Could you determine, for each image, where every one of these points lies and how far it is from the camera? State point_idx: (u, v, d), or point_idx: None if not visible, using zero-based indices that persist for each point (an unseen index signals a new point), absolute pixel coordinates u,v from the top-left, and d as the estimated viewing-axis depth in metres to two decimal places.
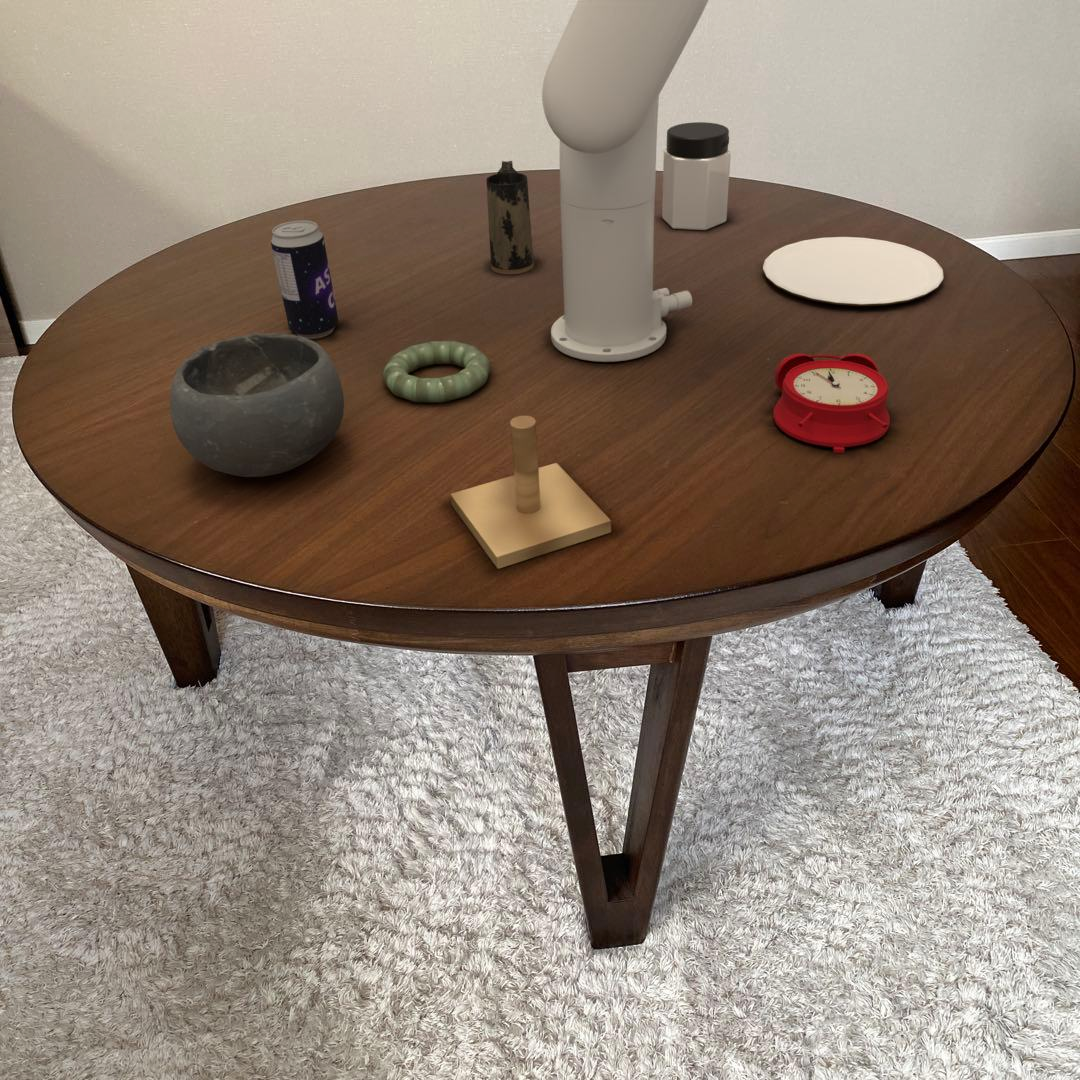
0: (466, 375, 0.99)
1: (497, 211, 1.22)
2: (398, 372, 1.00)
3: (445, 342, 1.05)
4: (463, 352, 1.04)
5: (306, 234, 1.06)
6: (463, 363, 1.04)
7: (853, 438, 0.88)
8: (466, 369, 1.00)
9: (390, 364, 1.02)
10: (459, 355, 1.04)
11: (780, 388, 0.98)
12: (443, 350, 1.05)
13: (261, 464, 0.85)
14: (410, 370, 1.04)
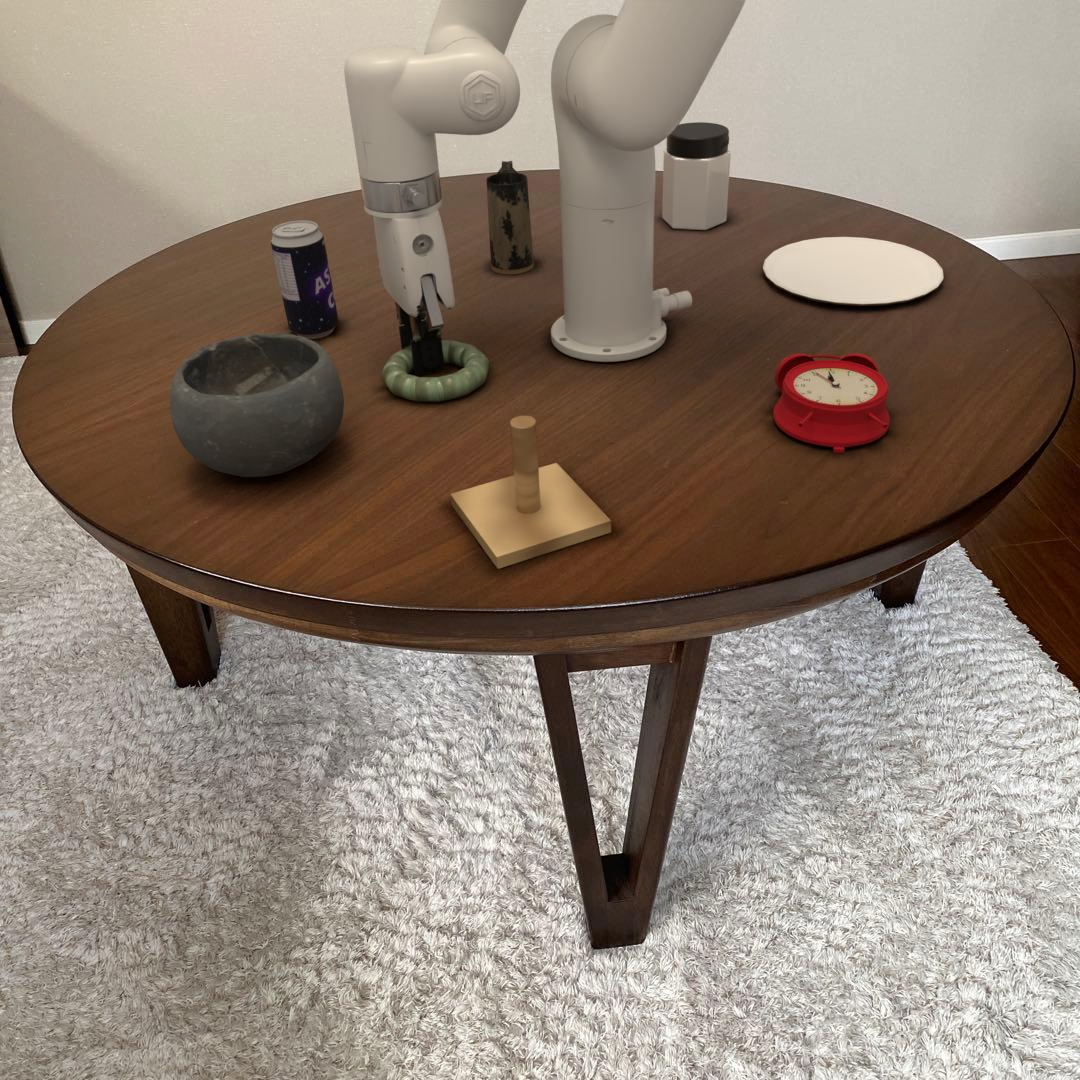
0: (465, 374, 0.99)
1: (497, 211, 1.22)
2: (397, 371, 1.00)
3: (444, 341, 1.05)
4: (462, 352, 1.04)
5: (306, 234, 1.06)
6: (462, 362, 1.04)
7: (853, 438, 0.88)
8: (465, 368, 1.00)
9: (389, 363, 1.02)
10: (458, 354, 1.04)
11: (780, 388, 0.98)
12: (443, 349, 1.05)
13: (261, 464, 0.85)
14: (409, 369, 1.04)
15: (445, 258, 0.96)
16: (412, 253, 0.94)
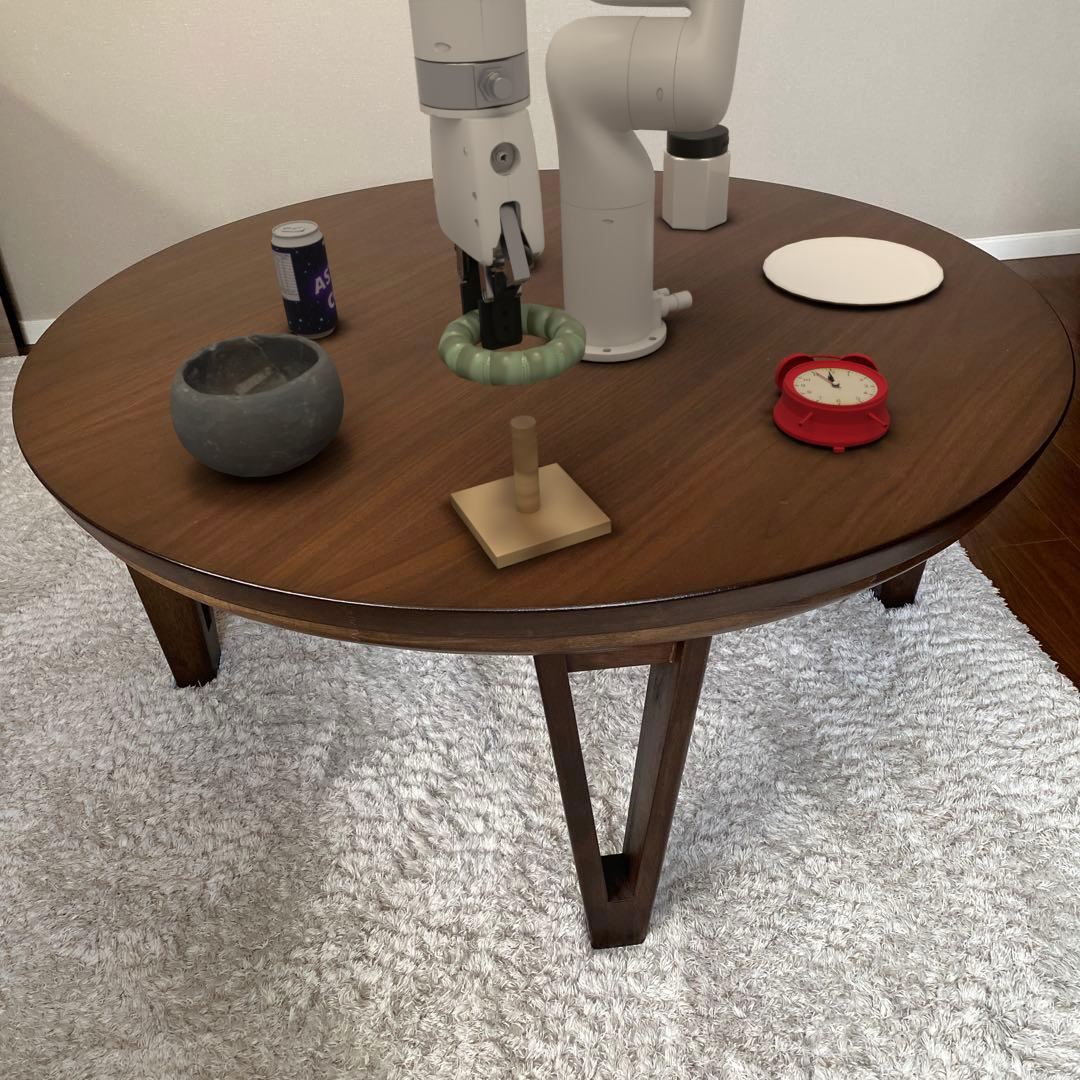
0: (559, 347, 0.70)
1: None
2: (462, 344, 0.71)
3: (521, 305, 0.77)
4: (547, 318, 0.75)
5: (306, 234, 1.06)
6: (548, 332, 0.75)
7: (853, 438, 0.88)
8: (558, 339, 0.71)
9: (449, 333, 0.73)
10: (542, 322, 0.75)
11: (780, 388, 0.98)
12: None
13: (261, 464, 0.85)
14: (474, 343, 0.75)
15: (535, 179, 0.67)
16: (489, 170, 0.65)
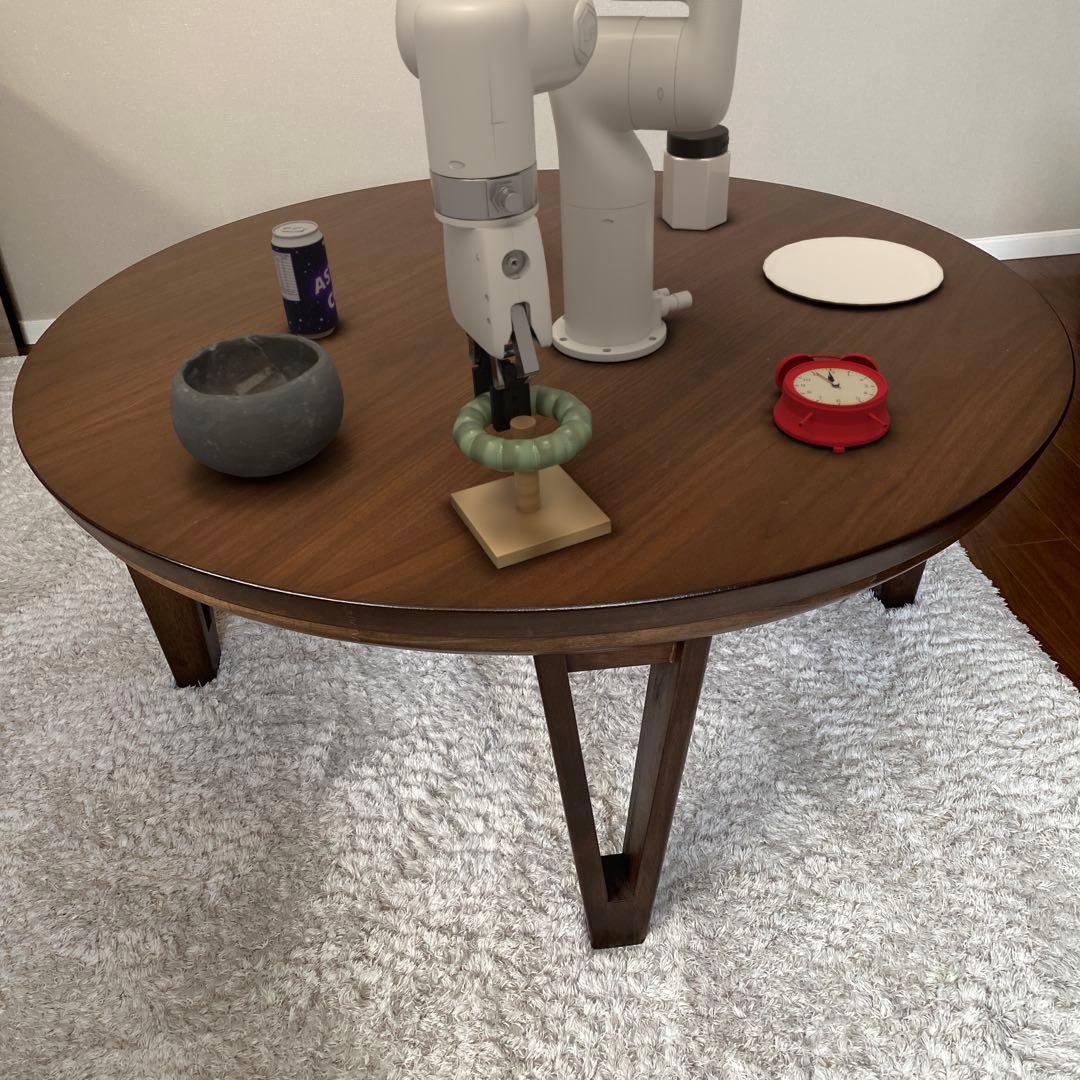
0: (567, 435, 0.75)
1: None
2: (475, 431, 0.75)
3: (530, 387, 0.81)
4: (555, 401, 0.79)
5: (306, 234, 1.06)
6: (556, 415, 0.79)
7: (853, 438, 0.88)
8: (566, 426, 0.75)
9: (462, 419, 0.77)
10: (550, 405, 0.79)
11: (780, 388, 0.98)
12: None
13: (261, 464, 0.85)
14: (486, 425, 0.79)
15: (544, 281, 0.71)
16: (501, 275, 0.69)
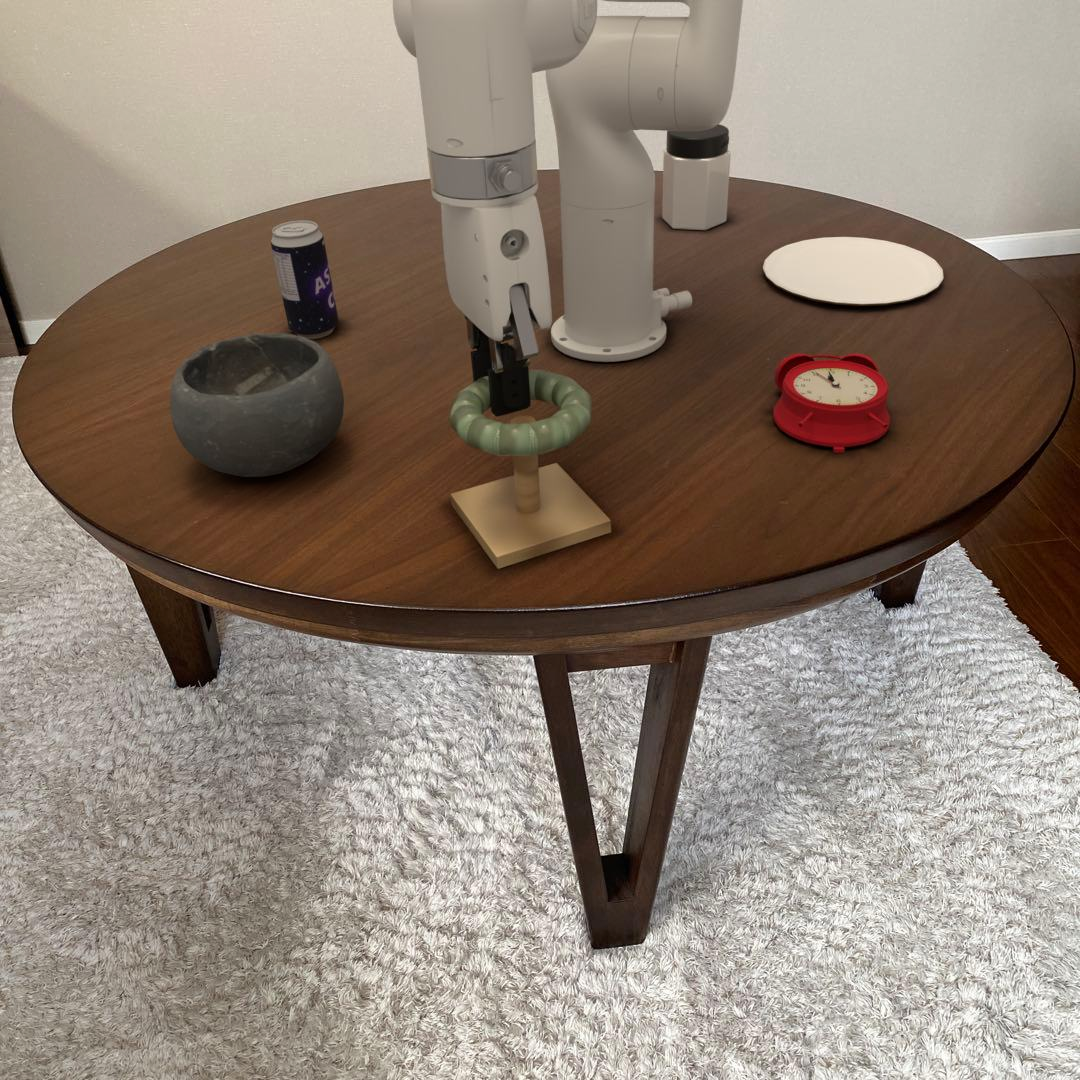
0: (565, 419, 0.74)
1: None
2: (473, 415, 0.75)
3: (529, 371, 0.80)
4: (554, 386, 0.78)
5: (306, 234, 1.06)
6: (556, 400, 0.78)
7: (853, 438, 0.88)
8: (564, 410, 0.74)
9: (460, 403, 0.76)
10: (549, 389, 0.79)
11: (780, 388, 0.98)
12: None
13: (261, 464, 0.85)
14: (484, 409, 0.78)
15: (543, 262, 0.70)
16: (500, 255, 0.69)
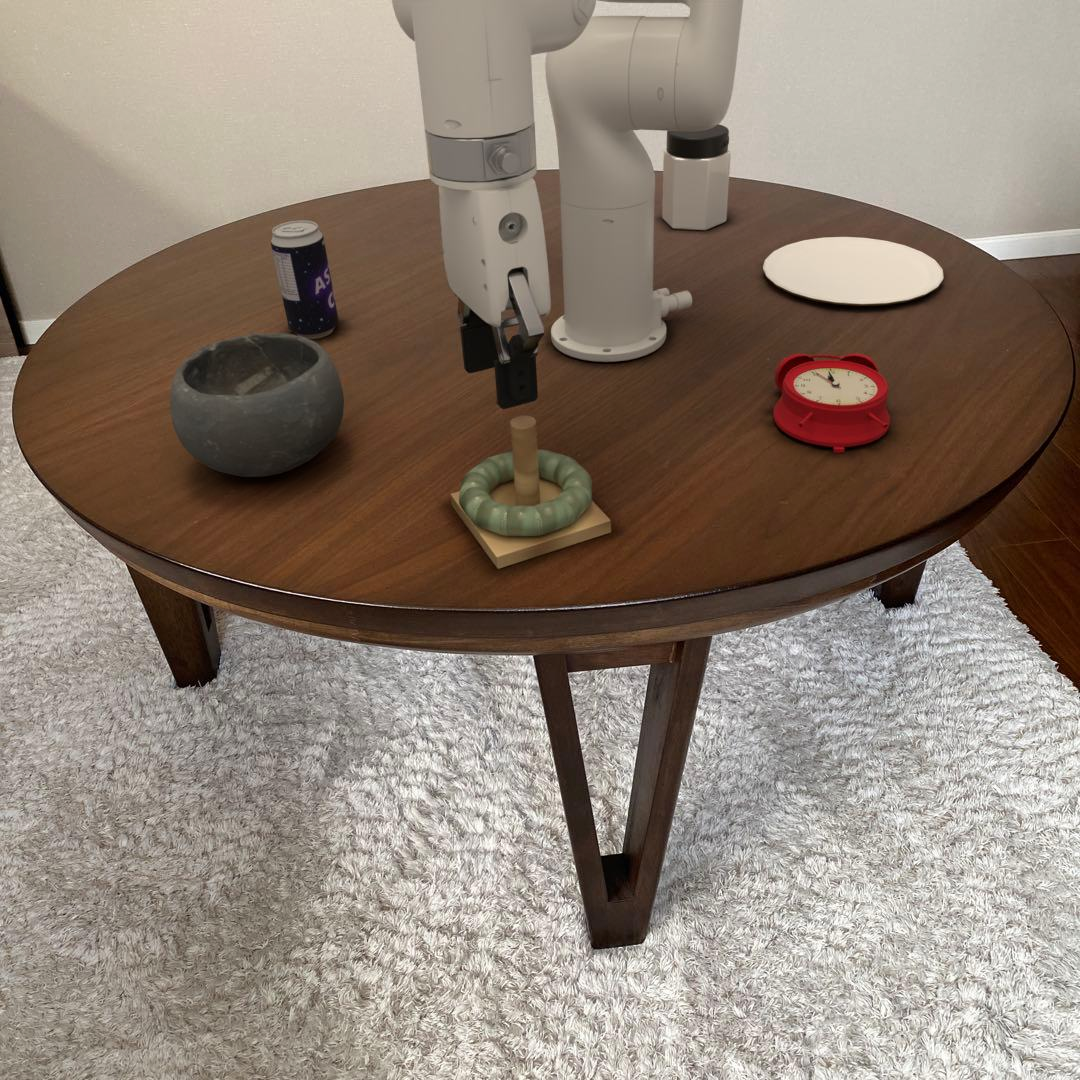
0: (568, 501, 0.78)
1: None
2: (481, 497, 0.79)
3: None
4: (557, 466, 0.83)
5: (306, 234, 1.06)
6: (558, 480, 0.83)
7: (853, 438, 0.88)
8: (567, 492, 0.79)
9: (468, 485, 0.81)
10: (551, 469, 0.83)
11: (780, 388, 0.98)
12: None
13: (261, 464, 0.85)
14: (491, 489, 0.83)
15: (541, 246, 0.69)
16: (498, 239, 0.68)
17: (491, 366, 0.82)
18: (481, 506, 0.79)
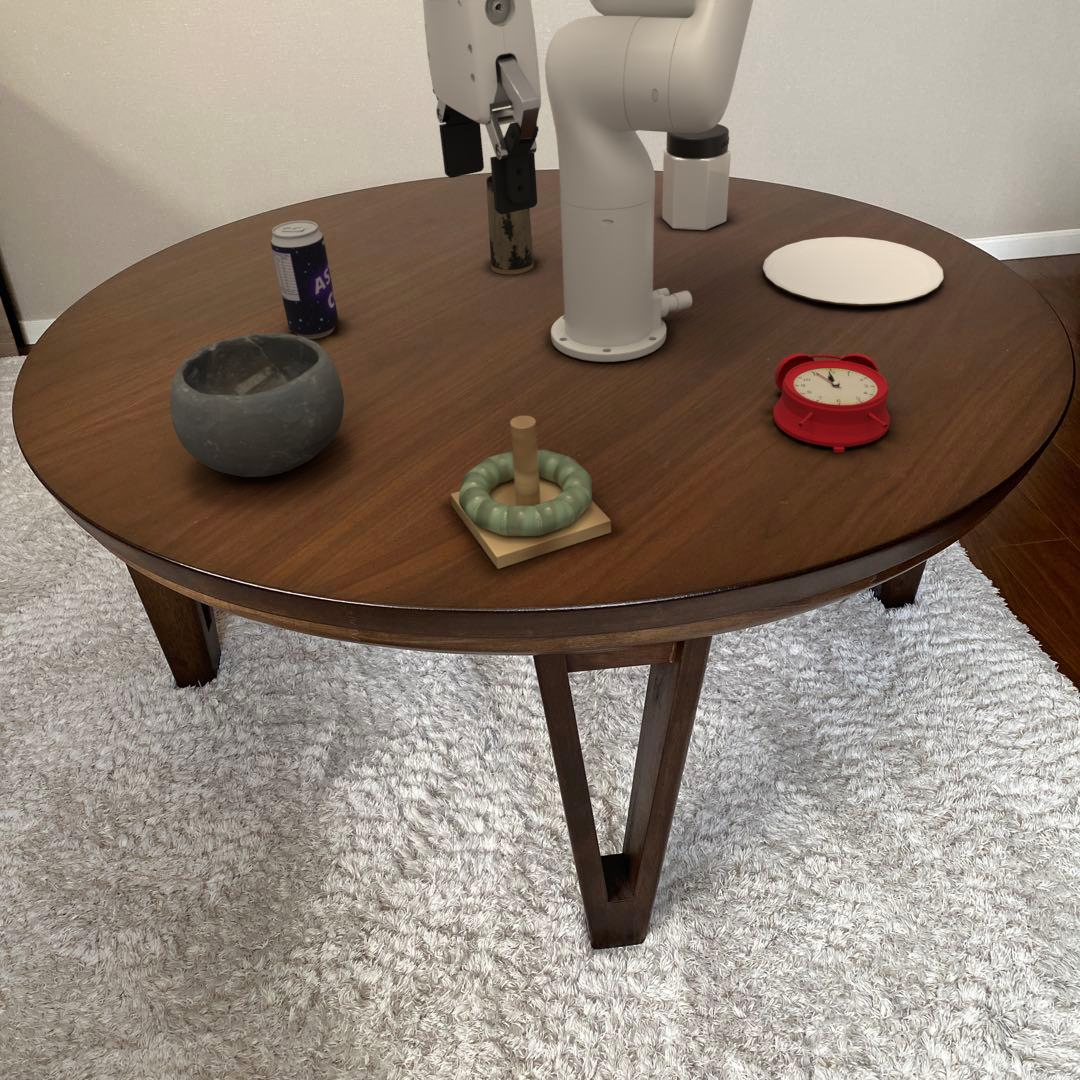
0: (568, 501, 0.78)
1: None
2: (481, 497, 0.79)
3: None
4: (557, 466, 0.83)
5: (306, 234, 1.06)
6: (558, 480, 0.83)
7: (853, 438, 0.88)
8: (567, 492, 0.79)
9: (468, 485, 0.81)
10: (551, 469, 0.83)
11: (780, 388, 0.98)
12: None
13: (261, 464, 0.85)
14: (491, 489, 0.83)
15: (530, 31, 0.67)
16: (485, 20, 0.65)
17: (472, 170, 0.80)
18: (481, 506, 0.79)
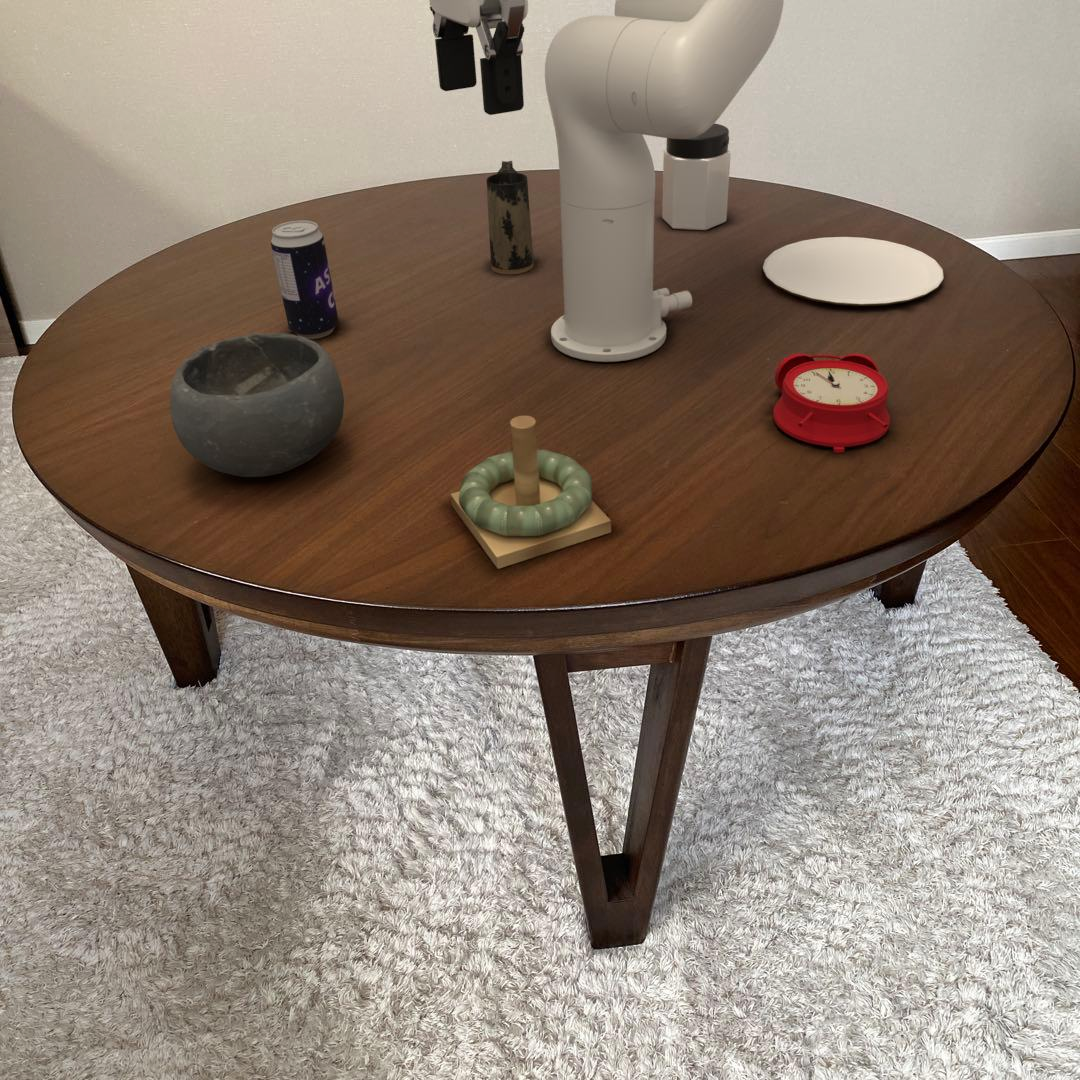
0: (568, 501, 0.78)
1: (497, 211, 1.22)
2: (481, 497, 0.79)
3: None
4: (557, 466, 0.83)
5: (306, 234, 1.06)
6: (558, 480, 0.83)
7: (853, 438, 0.88)
8: (567, 492, 0.79)
9: (468, 485, 0.81)
10: (551, 469, 0.83)
11: (780, 388, 0.98)
12: None
13: (261, 464, 0.85)
14: (491, 489, 0.83)
15: None
16: None
17: (465, 85, 0.85)
18: (481, 506, 0.79)
